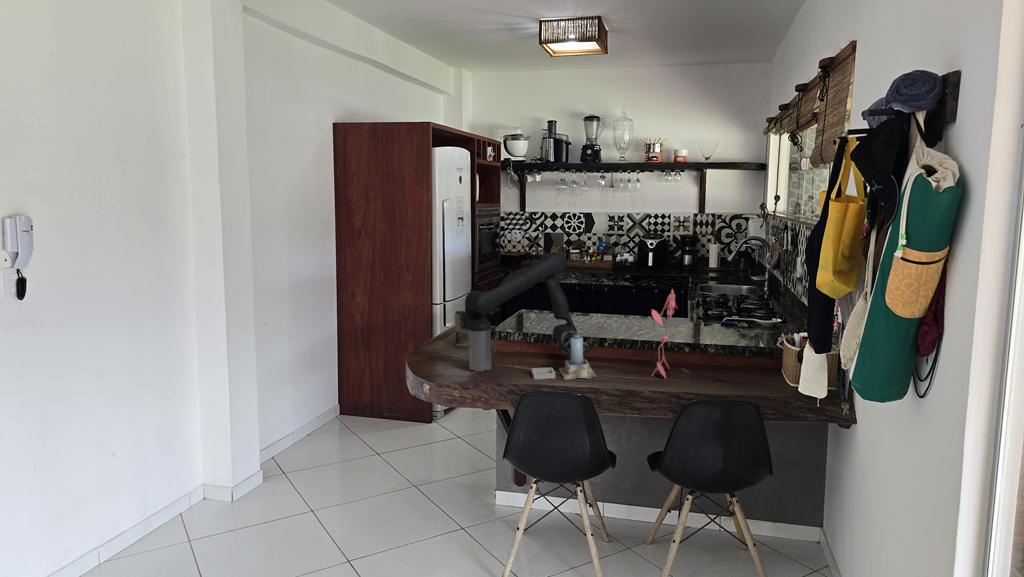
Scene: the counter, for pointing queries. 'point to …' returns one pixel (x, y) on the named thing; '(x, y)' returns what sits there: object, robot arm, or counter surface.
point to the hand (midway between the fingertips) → (578, 350)
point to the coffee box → (461, 329)
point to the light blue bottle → (576, 350)
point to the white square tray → (543, 373)
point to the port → (577, 370)
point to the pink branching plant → (658, 319)
